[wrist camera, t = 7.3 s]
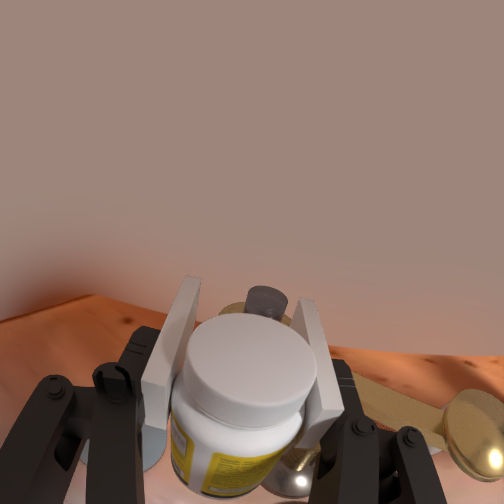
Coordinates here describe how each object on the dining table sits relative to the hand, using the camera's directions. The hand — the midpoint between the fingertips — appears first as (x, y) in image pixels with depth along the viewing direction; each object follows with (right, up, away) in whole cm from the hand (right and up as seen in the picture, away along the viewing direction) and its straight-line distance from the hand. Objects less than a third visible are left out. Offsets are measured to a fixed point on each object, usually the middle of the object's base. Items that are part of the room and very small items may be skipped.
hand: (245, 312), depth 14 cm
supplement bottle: (-1, -8, -2) cm, 8 cm away
